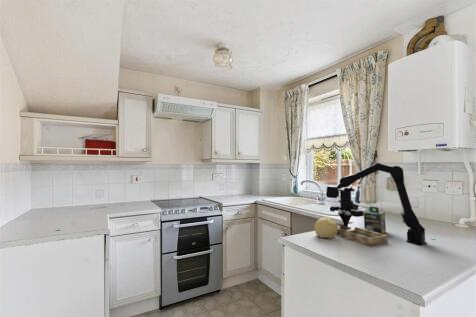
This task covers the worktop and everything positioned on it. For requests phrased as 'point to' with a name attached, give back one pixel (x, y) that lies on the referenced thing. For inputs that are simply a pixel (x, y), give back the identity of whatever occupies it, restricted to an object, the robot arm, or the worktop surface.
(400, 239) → the worktop surface
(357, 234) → the tan wooden rectangular frame
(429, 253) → the worktop surface
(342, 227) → the cover plate
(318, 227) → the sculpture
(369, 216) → the chalk box
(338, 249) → the worktop surface
